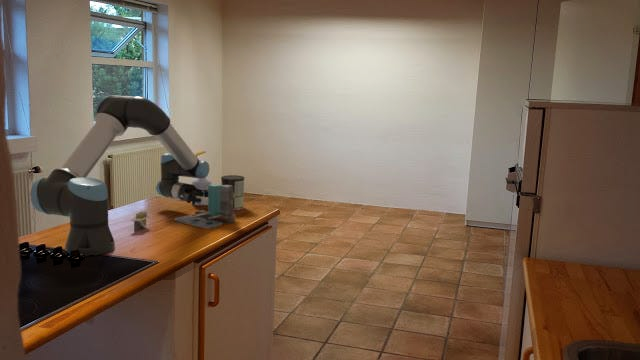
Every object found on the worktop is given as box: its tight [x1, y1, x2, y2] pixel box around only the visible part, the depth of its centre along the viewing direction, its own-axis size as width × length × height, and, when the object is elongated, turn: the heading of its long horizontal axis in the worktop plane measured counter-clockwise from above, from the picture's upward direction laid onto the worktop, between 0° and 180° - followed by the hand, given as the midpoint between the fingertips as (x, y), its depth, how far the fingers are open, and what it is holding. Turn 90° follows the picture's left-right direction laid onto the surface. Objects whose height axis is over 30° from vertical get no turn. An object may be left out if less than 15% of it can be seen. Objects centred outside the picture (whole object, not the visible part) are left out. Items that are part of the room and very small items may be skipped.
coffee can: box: [220, 174, 245, 211], centre depth 255 cm, size 10×10×14 cm
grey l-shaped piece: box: [194, 184, 237, 225], centre depth 229 cm, size 12×19×15 cm, turn 54°
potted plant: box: [130, 210, 150, 232], centre depth 215 cm, size 12×18×7 cm, turn 172°
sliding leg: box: [196, 183, 222, 217], centre depth 229 cm, size 12×5×12 cm, turn 144°
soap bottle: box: [191, 150, 213, 207], centre depth 260 cm, size 9×9×25 cm
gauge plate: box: [174, 214, 223, 230], centre depth 226 cm, size 8×19×1 cm, turn 54°
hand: (220, 199), depth 230 cm, fingers open, 13 cm apart
